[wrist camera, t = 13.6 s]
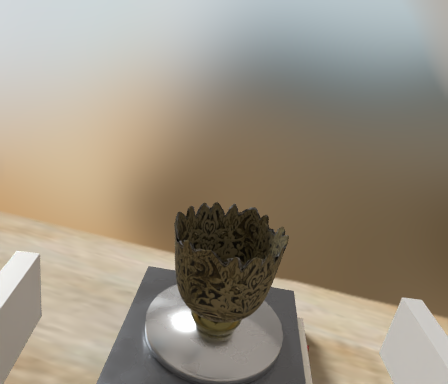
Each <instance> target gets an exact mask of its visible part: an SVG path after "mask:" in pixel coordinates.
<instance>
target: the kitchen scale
mask: <svg viewBox="0 0 448 384" xmlns="http://www.w3.org/2000/svg"><path fill="white" fill-rule="evenodd" d="M308 350H309V346H308V345H307V343H306V337H305V330H304V323H303V319H302V318H297V313H296V305H295V298H294V291H291V290H285V289H279V288H273V287H270V290H269V292H268V294H267V296H266V298H265V300H264V301H263V303H262V304H261V306H260V307H259V308H258V309H257V310H256V311H255V312H254V313H253V314H251V315H250V316H248V317H246V318H244V319H242V321H241V323H240V325H239V326H238V327H237V328H236V329H235V330H234V331H233V332H232V333H230V334H227V335H222V336H215V335H210V334H207V333H205V332H203V331H201V330H200V329H199V328H198V327H197V326H196V325H195V323H194V321H193V319H192V315H191V309H189V308H188V306H187V305H186V304H185V303H184V301H183V299H182V298H181V296H180V293H179V290H178V286H177V281H176V271H174V270H168V269H162V268H156V267H150V266H149V267H148V269H147V271H146V273H145V276H144V278H143V280H142V282H141V285H140V287H139V289H138V291H137V294H136V296H135V298H134V300H133V303H132V305H131V307H130V309H129V312H128V314H127V316H126V318H125V321H124V323H123V325H122V327H121V330H120V332H119V334H118V336H117V339H116V341H115V343H114V345H113V348H112V350H111V352H110V354H109V357H108V359H107V361H106V363H105V366H104V368H103V370H102V372H101V375H100V377H99V379H98V381H97V384H313V383H312V377H311V370H310V363H309V357H308Z"/></svg>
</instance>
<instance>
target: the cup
mask: <svg viewBox="0 0 448 384" xmlns="http://www.w3.org/2000/svg"><path fill="white" fill-rule="evenodd" d="M238 213H239V212H238V208H237V206H236V204H233V205H232V206H231V207H230V208H229V211H228V212H227V214H226V215H224V214H225V213H224V211H223V209H222V208H221V206H220V204H219V203H218V202H216V203H214V204H213V206H212V208H209V206H207V204H206V203H203V204H202V205H201V206H200V208H199V209H198V211H197V214H196V215H195V211H194V207H193V206H191V207H189V208H188V211H187V216H185V215H184V214H183V213H182V212H178V213H177V216H176V222H175V223H174V224H175V225H174V226H175V270H176V281H177V286H178V290H179V293H180V296H181V298H182V299H183V301H184V303H185V304H186V305H187V306H188V308H189V309H191V315H192V319H193V321H194V323H195V325H196V326H197V327H198V328H199V329H200V330H201V331H203V332H205V333H207V334H210V335H215V336H222V335H227V334H230V333H232V332H233V331H234V330H235V329H236V328H237V327H238V326H239V325H240V323H241V321H242V319H244V318H246V317H248V316H250V315H251V314H253V313H254V312H255V311H256V310H257V309H258V308H259V307H260V306H261V304H262V303H263V301H264V300H265V298H266V296H267V294H268V292H269V290H270V287H271V285H272V283H273V280H274V278H275V275H276V272H277V270H278V267H279V264H280V262H281V259H282V256H283V253H284V251H285V248H286V246H287V244H288V239H289V236H288V235H286V236H284V235H285V229H284V227H281V228H279V229H278V231H277V232H276V234H275V232H274V230H273V229H271V230H270V229H269V225H268V220H269V219H268V216H267V215H265V216H263V217H262V218H260V215H259V213H258V210H257V209H256V208H249V209H246V210H244V211H243V212H240V213H241V214H240V213H239V214H238Z"/></svg>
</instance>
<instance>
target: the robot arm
mask: <svg viewBox="0 0 448 384" xmlns="http://www.w3.org/2000/svg"><path fill="white" fill-rule="evenodd" d="M41 316H42V313H41V277H40V254H39V253H31V252H23V251H16V253H15V254H14V255H13V256H12V257H11V259H10V260H9V261H8V262H7V264H6V265H5V266H4V267H3V268H2V270H1V271H0V384H3V383H4V381H5V380H6V378H7V376H8V374H9V373H10V371H11V369H12V367H13V366H14V364H15V362H16V360H17V358H18V357H19V355H20V353H21V351H22V350H23V348H24V346H25V344H26V343H27V341H28V339H29V337H30V336H31V334H32V332H33V330H34V328H35V327H36V325H37V323H38V321H39V320H40V318H41ZM379 354H380V356H381V358H382V360H383V362H384V364H385V366H386V368H387V371H388V373H389V375H390V377H391V379H392V381H393V383H394V384H448V336H447V335H446V333H445V332H444V331H443V329H442V328H441V326H440V325H439V324H438V322H437V321H436V319H435V318H434V317H433V315H432V314H431V312H430V311H429V309H428V308H427V307H426V305H425V304H424V302H423V301H422V300H418V299H409V298H402V300H401V302H400V304H399V307H398V309H397V311H396V314H395V316H394V318H393V321H392V323H391V326H390V328H389V330H388V333H387V335H386V337H385V340H384V342H383V345H382V347H381V349H380V352H379Z"/></svg>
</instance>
